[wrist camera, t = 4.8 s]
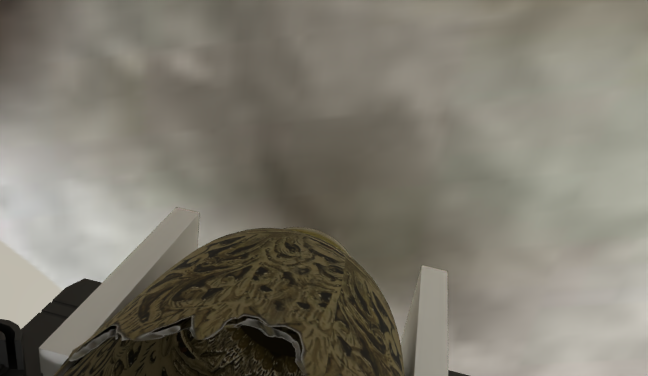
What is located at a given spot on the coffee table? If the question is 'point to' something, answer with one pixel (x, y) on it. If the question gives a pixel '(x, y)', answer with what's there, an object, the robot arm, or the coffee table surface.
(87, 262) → the coffee table surface
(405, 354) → the robot arm
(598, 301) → the coffee table surface
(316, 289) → the ornate bell
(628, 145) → the coffee table surface
